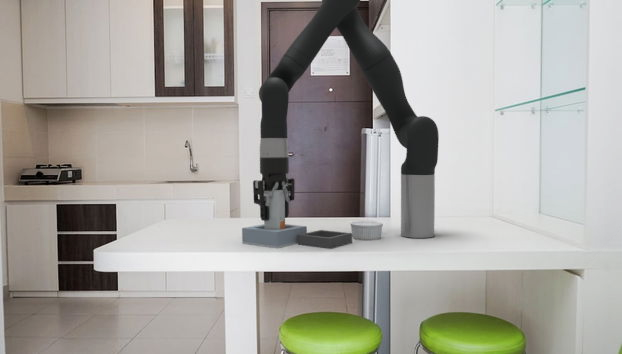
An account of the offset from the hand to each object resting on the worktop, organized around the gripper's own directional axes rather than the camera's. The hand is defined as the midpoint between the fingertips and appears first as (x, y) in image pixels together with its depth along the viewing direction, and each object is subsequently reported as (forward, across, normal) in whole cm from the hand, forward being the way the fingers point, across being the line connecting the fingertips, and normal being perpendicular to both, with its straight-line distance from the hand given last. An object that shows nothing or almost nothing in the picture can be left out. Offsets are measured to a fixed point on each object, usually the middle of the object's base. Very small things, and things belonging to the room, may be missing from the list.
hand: (275, 218), depth 134 cm
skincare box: (+5, 0, 0) cm, 5 cm away
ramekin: (+7, +20, -16) cm, 26 cm away
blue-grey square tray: (+6, 0, 0) cm, 6 cm away
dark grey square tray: (+6, +6, -12) cm, 15 cm away
